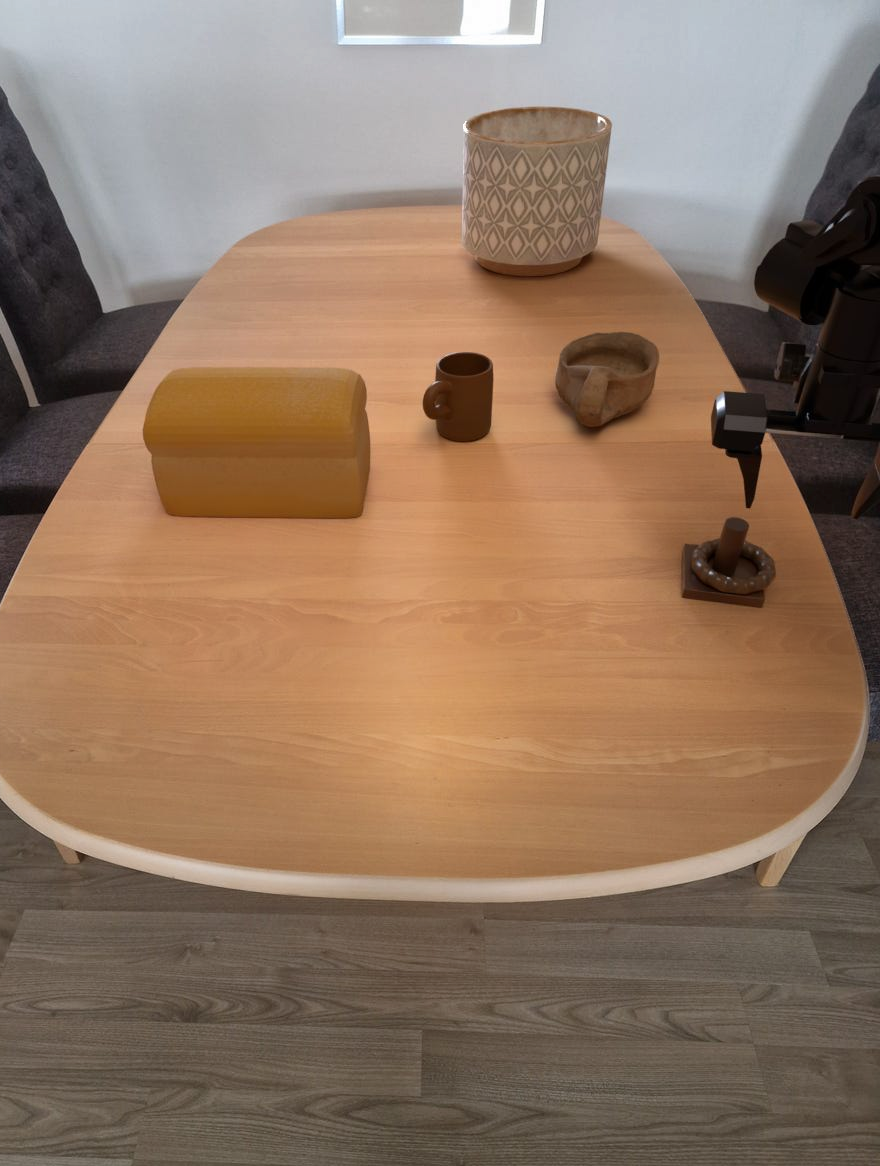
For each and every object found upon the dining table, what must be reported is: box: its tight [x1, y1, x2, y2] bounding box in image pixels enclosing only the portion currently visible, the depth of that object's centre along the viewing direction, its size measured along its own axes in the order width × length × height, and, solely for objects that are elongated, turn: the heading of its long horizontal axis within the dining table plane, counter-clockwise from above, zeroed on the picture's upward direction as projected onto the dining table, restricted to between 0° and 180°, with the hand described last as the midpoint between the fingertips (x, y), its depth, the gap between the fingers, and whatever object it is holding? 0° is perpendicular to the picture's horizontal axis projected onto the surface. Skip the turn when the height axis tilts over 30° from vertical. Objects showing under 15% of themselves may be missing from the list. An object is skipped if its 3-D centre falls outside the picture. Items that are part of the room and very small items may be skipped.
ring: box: [692, 537, 777, 594], centre depth 88 cm, size 8×8×2 cm
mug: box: [422, 351, 494, 443], centre depth 110 cm, size 12×8×9 cm, turn 140°
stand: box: [681, 516, 766, 609], centre depth 87 cm, size 8×8×7 cm
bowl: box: [554, 331, 660, 428], centre depth 113 cm, size 18×14×10 cm
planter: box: [461, 106, 613, 277], centre depth 152 cm, size 26×26×22 cm
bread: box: [142, 366, 371, 519], centre depth 100 cm, size 24×13×15 cm, turn 86°
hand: (800, 511), depth 77 cm, fingers open, 9 cm apart
